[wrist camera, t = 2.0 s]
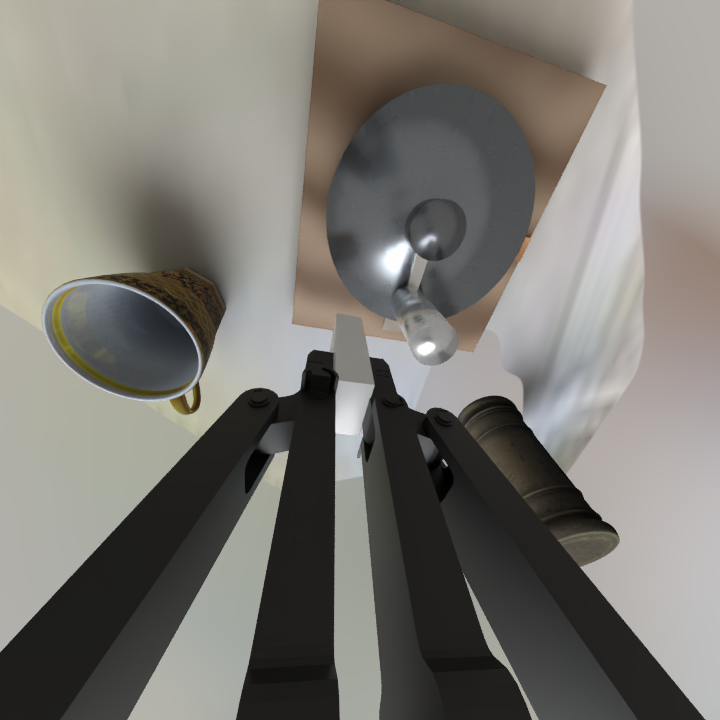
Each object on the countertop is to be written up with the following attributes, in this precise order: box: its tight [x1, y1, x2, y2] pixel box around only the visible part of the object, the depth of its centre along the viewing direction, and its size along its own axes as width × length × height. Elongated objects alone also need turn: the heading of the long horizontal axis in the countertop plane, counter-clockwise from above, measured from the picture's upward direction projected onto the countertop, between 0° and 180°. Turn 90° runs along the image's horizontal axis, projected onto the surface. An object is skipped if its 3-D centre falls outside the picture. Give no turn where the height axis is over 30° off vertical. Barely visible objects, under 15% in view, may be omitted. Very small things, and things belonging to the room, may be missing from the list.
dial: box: [326, 84, 535, 365], centre depth 18 cm, size 16×16×10 cm
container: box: [458, 396, 619, 567], centre depth 32 cm, size 9×9×18 cm
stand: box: [292, 0, 607, 352], centre depth 24 cm, size 22×20×3 cm
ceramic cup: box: [42, 268, 226, 415], centre depth 24 cm, size 13×10×10 cm
